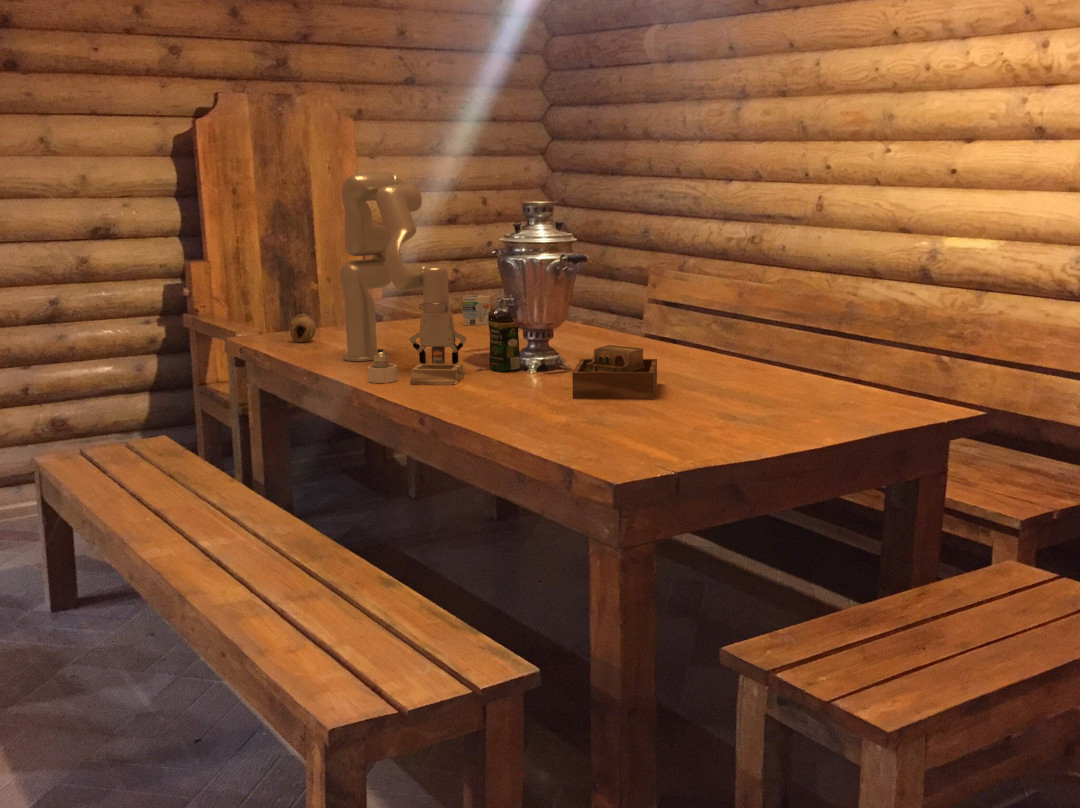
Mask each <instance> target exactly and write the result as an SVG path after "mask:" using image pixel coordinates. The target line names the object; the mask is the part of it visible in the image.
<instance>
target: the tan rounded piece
mask: <svg viewBox="0 0 1080 808" xmlns="http://www.w3.org/2000/svg"><path fill="white" fill-rule="evenodd" d="M290 324H291V325H290V328H289V331H290V336H291V340H292V341H294V342H296V343H302V344H303V343H309V342H311V340H312V339H313V338H314V337H315V334H316V328H317V327H316V323H315V322H314V320H313V319H312V316H310V315H307V314H306V313H301V314H298V315H296V316H295V317H293V319H292V320H291V322H290Z"/></svg>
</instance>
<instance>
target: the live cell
mask: <svg viewBox="0 0 1080 808" xmlns="http://www.w3.org/2000/svg"><path fill="white" fill-rule="evenodd" d="M430 352H431V364H447V363H446V347H431V351H430Z"/></svg>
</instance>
